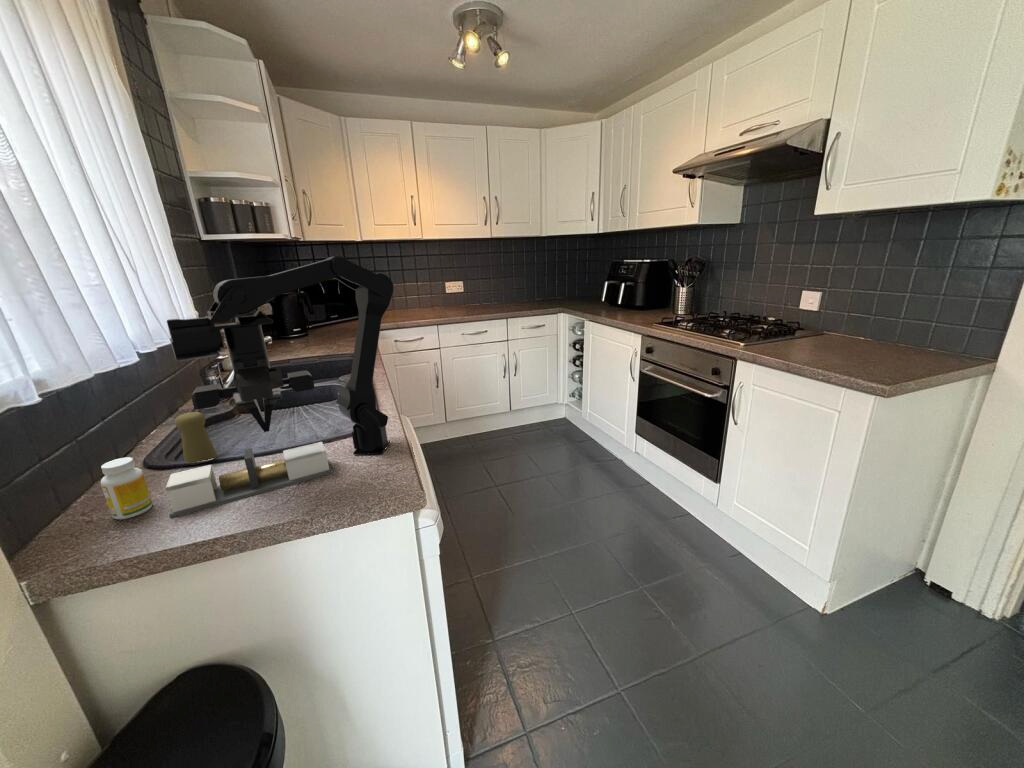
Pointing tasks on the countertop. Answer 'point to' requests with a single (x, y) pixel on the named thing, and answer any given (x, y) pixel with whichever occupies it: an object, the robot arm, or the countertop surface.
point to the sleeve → (306, 460)
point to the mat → (249, 491)
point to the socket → (191, 488)
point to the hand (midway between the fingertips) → (266, 431)
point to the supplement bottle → (125, 488)
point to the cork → (194, 437)
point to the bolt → (252, 473)
